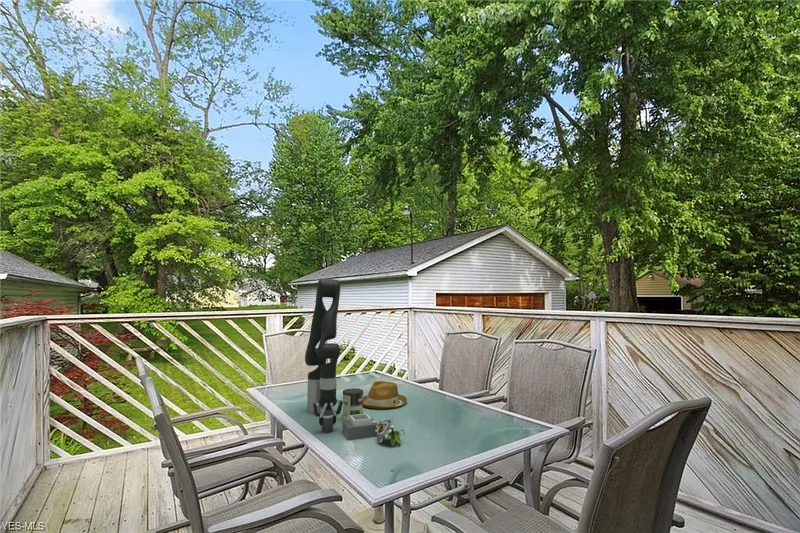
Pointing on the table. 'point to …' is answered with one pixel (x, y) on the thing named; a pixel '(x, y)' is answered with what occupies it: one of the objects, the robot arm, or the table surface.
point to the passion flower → (387, 431)
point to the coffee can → (352, 402)
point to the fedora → (383, 396)
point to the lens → (327, 421)
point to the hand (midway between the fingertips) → (327, 424)
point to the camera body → (359, 427)
